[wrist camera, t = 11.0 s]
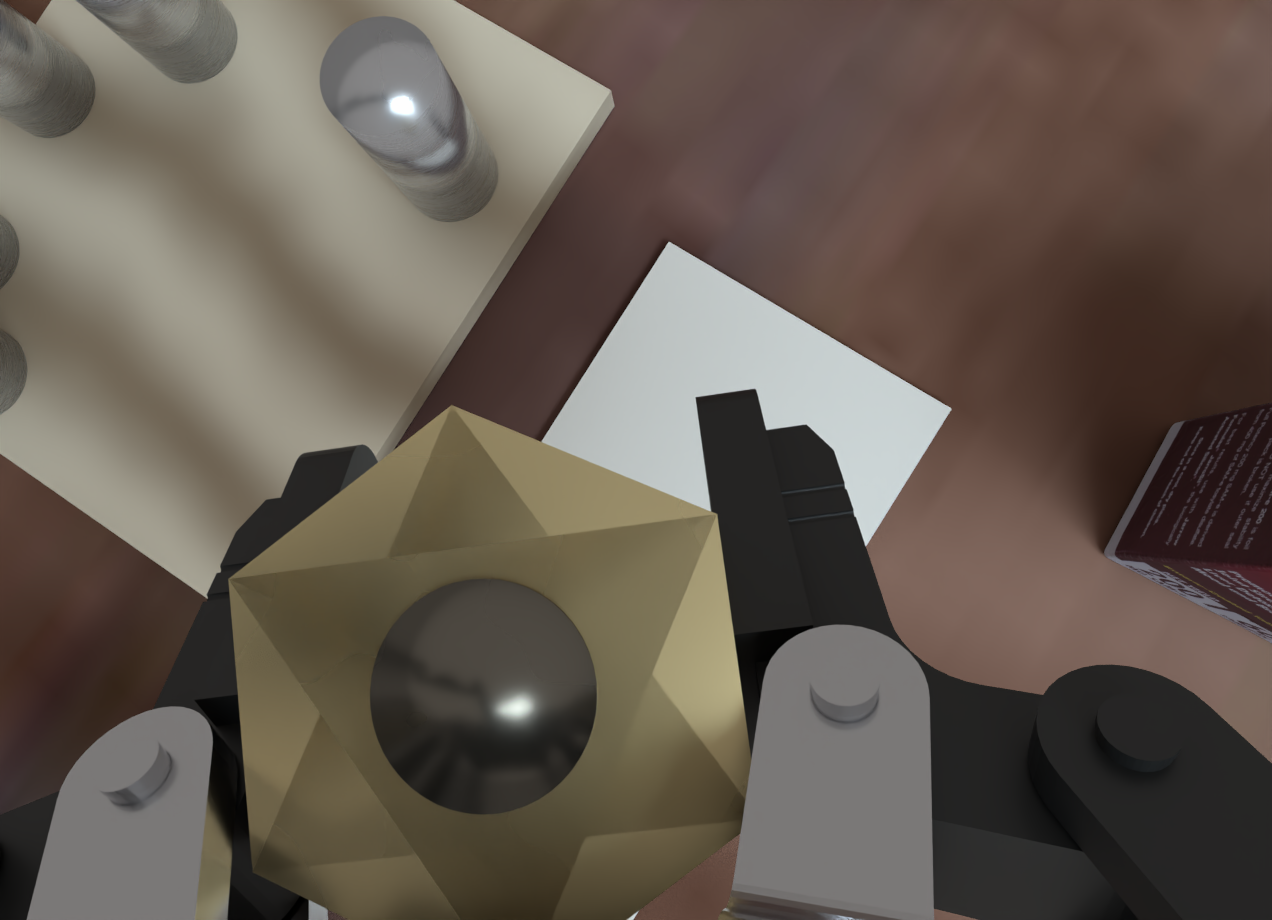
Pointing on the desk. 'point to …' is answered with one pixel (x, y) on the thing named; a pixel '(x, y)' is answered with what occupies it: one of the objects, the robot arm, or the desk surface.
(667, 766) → the tan faceted block
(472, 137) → the posts
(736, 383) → the off-white mat
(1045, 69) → the desk surface
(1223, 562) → the supplement box
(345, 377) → the board
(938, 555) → the desk surface
